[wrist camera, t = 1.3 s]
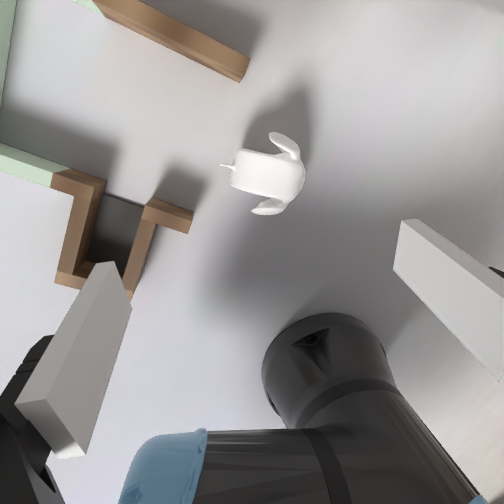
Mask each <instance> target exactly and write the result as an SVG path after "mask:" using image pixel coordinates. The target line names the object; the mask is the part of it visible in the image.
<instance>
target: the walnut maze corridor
mask: <svg viewBox="0 0 504 504" xmlns="http://www.w3.org/2000/svg"><path fill="white" fill-rule="evenodd" d="M92 1H93V3H94V4H95V5H96V6H97V7H98V9H99V10H100V11H101V12H102V13H103V15H104V16H105V17H107V18H109V19H111V20H113V21H115V22H117V23H119V24H121V25H123V26H125V27H127V28H129V29H131V30H133V31H135V32H137V33H139V34H141V35H143V36H145V37H147V38H149V39H151V40H153V41H155V42H157V43H159V44H161V45H163V46H165V47H167V48H169V49H171V50H173V51H176V52H178V53H180V54H182V55H184V56H186V57H188V58H190V59H192V60H194V61H196V62H198V63H200V64H202V65H204V66H206V67H208V68H210V69H212V70H214V71H216V72H218V73H220V74H222V75H224V76H226V77H228V78H230V79H232V80H234V81H236V82H238V83H240V81H241V80H242V78H243V77H244V75H245V73H246V70H247V67H248V64H249V61H250V58H248V57H246V56H244V55H242V54H241V53H239V52H237V51H235V50H233V49H231V48H229V47H227V46H225V45H223V44H221V43H219V42H217V41H216V40H214V39H212V38H210V37H208V36H206V35H204V34H202V33H200V32H198V31H196V30H194V29H193V28H191V27H189V26H187V25H185V24H183V23H181V22H179V21H177V20H175V19H173V18H171V17H169V16H168V15H166V14H164V13H162V12H160V11H158V10H156V9H154V8H152V7H150V6H148V5H146V4H145V3H143V2H141V1H139V0H92ZM106 183H107V181H105V180H102V179H99V178H97V177H94V176H91V175H88V174H85V173H83V172H80V171H77V170H74V169H72V168H71V169H67V170H63V171H59V172H55V173H53V175H52V180H51V184H50V188H52V189H55V190H58V191H61V192H64V193H67V194H70V195H73V196H74V201H73V205H72V209H71V213H70V218H69V222H68V226H67V230H66V235H65V239H64V243H63V247H62V251H61V256H60V260H59V264H58V268H57V273H56V277H55V281H54V283H56V284H60V285H64V286H68V287H71V288H75V289H79V290H81V289H82V287H83V285H84V284H85V282H86V280H87V278H88V277H89V275H90V273H91V272H92V270H93V268H94V266H95V265H96V263H103V262H110V261H114V262H115V265H116V267H117V270H118V273H119V275H120V278H121V280H122V283H123V286H124V288H125V291H126V294H127V296H128V299H129V301H131V299H132V297H133V294H134V292H135V290H136V288H137V285H138V282H139V279H140V276H141V273H142V270H143V267H144V264H145V261H146V257H147V254H148V251H149V248H150V245H151V242H152V239H153V236H154V233H155V230H156V227H157V224H159V225H162V226H165V227H168V228H171V229H174V230H177V231H180V232H183V233H186V234H188V232H189V229H190V226H191V223H192V219H193V212H192V211H189V210H186V209H183V208H181V207H178V206H175V205H172V204H169V203H167V202H164V201H161V200H158V199H155V198H153V197H152V198H151V199H150V200H149V201H148V202H147V204H146V205H145V207H144V208H143V207H140V206H138V205H135V204H132V203H129V202H126V201H123V200H120V199H117V198H114V197H112V196H109V195H106V194H104V191H105V187H106Z"/></svg>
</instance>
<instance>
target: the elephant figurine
mask: <svg viewBox="0 0 504 504" xmlns="http://www.w3.org/2000/svg"><path fill="white" fill-rule="evenodd" d="M269 138H270V140H271V141H272V142H273V143H274V144H275V145H276V146H277V147H278V148H279V149H280V151H281V152H282V153H280V154H276V155H272V154H266V153H262V152H257V151H253V150H250V149H244V148H239V149H237V151H236V153H235V156H234V161H233V165H223V164H220V166H226V167H229V168H231V169H232V171H231V178H230V182H231V185H232V186H233V187H235V188H237V189H240V190H243V191H246V192H250V193H253V194H257V195H262V196H266V197H268V198H269V199H268V200H266V201H263V202H261V203H259V205H258V206H257V207H256V208H254V209H252V210H251V211H252V212H253V213H255V214H258V215H274V214H278V213H281V212H283V211H284V210H285V209H286V207H287V205H288V203H289V202H290V201H292V200H293V199H294V198H295V197H296V195H297V194H298V193H299V192H300V191H302V190H301V189H302V187H303V184H304V180H305V175H306V172H307V171H306V170H305V168H304V165H303V163H302V161H301V158H300V148H299V146H298V145H297V144H296V143H295V142H294V141H293V140H291V139H290V138H288V137H286V136H285V135H283V134H281V133H278V132H270V133H269Z"/></svg>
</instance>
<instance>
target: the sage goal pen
mask: <svg viewBox="0 0 504 504" xmlns="http://www.w3.org/2000/svg"><path fill="white" fill-rule="evenodd" d="M72 1H74V2H76V3H78V4H80V5H82V6H84V7H86V8H88V9H90V10H92V11H94V12H96V13H98V14H100V15H102V16H104V15H103V13H102V12H101V11H100V10H99V9H98V7H97V6H96V5H95V4H94V3H93V1H92V0H72ZM16 2H17V0H0V107H1V101H2V94H3V88H4V81H5V74H6V68H7V61H8V55H9V48H10V41H11V35H12V28H13V22H14V15H15V9H16ZM104 17H105V16H104ZM67 169H71V168H69V167H66V166H63V165H60V164H58V163H55V162H52V161H49V160H46V159H44V158H41V157H38V156H35V155H32V154H30V153H27V152H24V151H21V150H18V149H16V148H13V147H10V146H7V145H4V144H2V143H0V171H1V172H4V173H7V174H10V175H13V176H16V177H19V178H22V179H25V180H28V181H31V182H34V183H37V184H40V185H43V186H46V187H49V188H50V184H51V180H52V175H53V173H55V172H59V171H63V170H67Z"/></svg>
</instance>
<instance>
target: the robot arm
mask: <svg viewBox="0 0 504 504" xmlns="http://www.w3.org/2000/svg"><path fill="white" fill-rule="evenodd" d="M393 270H394V271H395V272H396V273H397V275H398V276H399V277H400V278H401V279H402V280H403V281H404V282H405V283H406V284H407V285H408V286H409V287H410V288H411V289H412V291H413V292H414V293H415V294H416V295H417V296H418V297H419V298H420V299H421V300H422V301H423V302H424V303H425V304H426V305H427V307H428V308H429V309H430V310H431V311H432V312H433V313H434V314H435V315H436V316H437V317H438V318H439V319H440V320H441V321H442V323H443V324H444V325H445V326H446V327H447V328H448V329H449V330H450V331H451V332H452V333H453V334H454V335H455V336H456V337H457V339H458V340H459V341H460V342H461V343H462V344H463V345H464V346H465V347H466V348H467V349H468V350H469V351H470V352H471V353H472V355H473V356H474V357H475V358H476V359H477V360H478V361H479V362H480V363H481V364H482V365H483V366H484V367H485V368H486V369H487V371H488V372H489V373H490V374H491V375H492V376H493V377H494V378H495V379H496V380H497V381H498V382H501V381H504V272H502V271H500V270H497V269H495V268H493V267H486V266H485V265H483V264H482V263H481V262H479V261H478V260H476V259H475V258H473V257H472V256H471V255H469V254H468V253H466V252H465V251H463V250H462V249H460V248H459V247H458V246H456V245H455V244H453V243H452V242H450V241H449V240H448V239H446V238H445V237H443V236H442V235H440V234H439V233H438V232H436V231H435V230H433V229H432V228H430V227H429V226H428V225H426V224H425V223H423V222H422V221H420V220H419V219H417V218H415V219H408V220H401V225H400V231H399V237H398V243H397V248H396V254H395V260H394V265H393ZM131 311H132V307H131V304H130V301H129V299H128V296H127V294H126V291H125V288H124V286H123V283H122V280H121V278H120V275H119V273H118V270H117V267H116V265H115V262H114V261H110V262H103V263H96V265H95V266H94V268H93V270H92V272H91V273H90V275H89V277H88V278H87V280H86V282H85V284H84V285H83V287H82V289H81V290H80V292H79V294H78V296H77V297H76V299H75V301H74V302H73V304H72V306H71V308H70V309H69V311H68V313H67V314H66V316H65V318H64V320H63V321H62V323H61V325H60V326H59V328H58V330H57V332H56V333H55V335H49V336H44V337H43V338H42V339H41V340H39V341H38V342H37V343H36V344H35V345H34V346H33V347H32V348H31V349H30V351H29V352H28V354H27V355H26V357H25V358H24V360H23V364H21V365H20V366H19V368H18V369H17V371H16V375H14V376H13V377H12V379H11V380H10V382H9V383H8V385H7V386H6V388H5V390H4V391H3V393H2V394H1V396H0V504H65V502H64V500H63V498H62V495H61V493H60V491H59V489H58V487H57V484H56V482H55V480H54V478H53V475H52V473H51V471H50V469H49V468H48V466H47V465H46V464H45V463H46V461H47V458H48V456H49V453H50V451H51V450H52V451H53V452H54V454H55V455H56V456H57V457H58V459H59V460H60V459H66V458H72V457H77V456H83V455H86V452H87V449H88V446H89V443H90V440H91V437H92V434H93V430H94V427H95V424H96V421H97V418H98V415H99V412H100V409H101V405H102V402H103V399H104V396H105V393H106V390H107V387H108V383H109V380H110V377H111V374H112V371H113V368H114V365H115V361H116V358H117V355H118V352H119V349H120V346H121V343H122V340H123V336H124V333H125V330H126V327H127V324H128V321H129V318H130V314H131ZM262 381H263V385H264V389H265V393H266V396H267V399H268V401H269V403H270V405H271V406H272V408H273V409H274V411H275V412H276V413H277V414H278V415H279V416H280V417H281V418H282V421H283V422H284V424H285V426H286V427H287V429H264V430H231V431H207V430H206V429H204V428H201V429H198V430H196V431H195V432H190V433H178V434H167V435H159V436H155V437H153V438H151V439H149V440H148V441H147V442H145V443H144V444H143V445H142V446H141V448H140V449H139V450H138V452H137V453H136V455H135V457H134V459H133V461H132V463H131V466H130V468H129V471H128V474H127V477H126V480H125V483H124V486H123V489H122V492H121V495H120V499H119V502H118V504H488V503H487V501H486V500H485V499H484V498H483V496H482V495H480V493H479V492H478V491H477V489H476V488H475V487H474V486H473V484H472V483H471V482H470V481H469V479H468V478H467V477H466V476H465V474H464V473H463V472H462V471H461V469H460V468H459V467H458V465H457V464H456V463H455V462H454V460H453V459H452V458H451V457H450V455H449V454H448V453H447V452H446V450H445V449H444V448H443V447H442V445H441V444H440V443H439V442H438V440H437V439H436V438H435V436H434V435H433V434H432V433H431V431H430V430H429V429H428V428H427V426H426V425H425V424H424V423H423V421H422V420H421V419H420V418H419V416H418V415H417V414H416V412H415V411H414V410H413V409H412V407H411V406H410V405H409V404H408V402H407V401H406V400H405V399H404V397H403V396H402V395H401V393H400V392H399V391H398V389H397V387H396V384H395V382H394V379H393V376H392V373H391V370H390V367H389V365H388V362H387V358H386V354H385V351H384V348H383V346H382V344H381V343H380V341H379V340H378V338H377V337H376V336H375V335H374V334H373V332H372V331H371V330H370V329H369V328H368V327H367V326H366V325H365V324H364V323H363V322H361V321H359V320H358V319H356V318H354V317H351V316H348V315H343V314H335V313H328V314H320V315H315V316H311V317H308V318H305V319H303V320H301V321H298V322H297V323H295V324H293V325H291V326H290V327H288V328H287V329H286V330H284V331H283V332H282V333H281V334H280V335H279V336H278V337H277V338H276V339H275V340H274V341H273V343H272V344H271V346H270V347H269V349H268V351H267V352H266V355H265V357H264V360H263V364H262Z"/></svg>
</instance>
